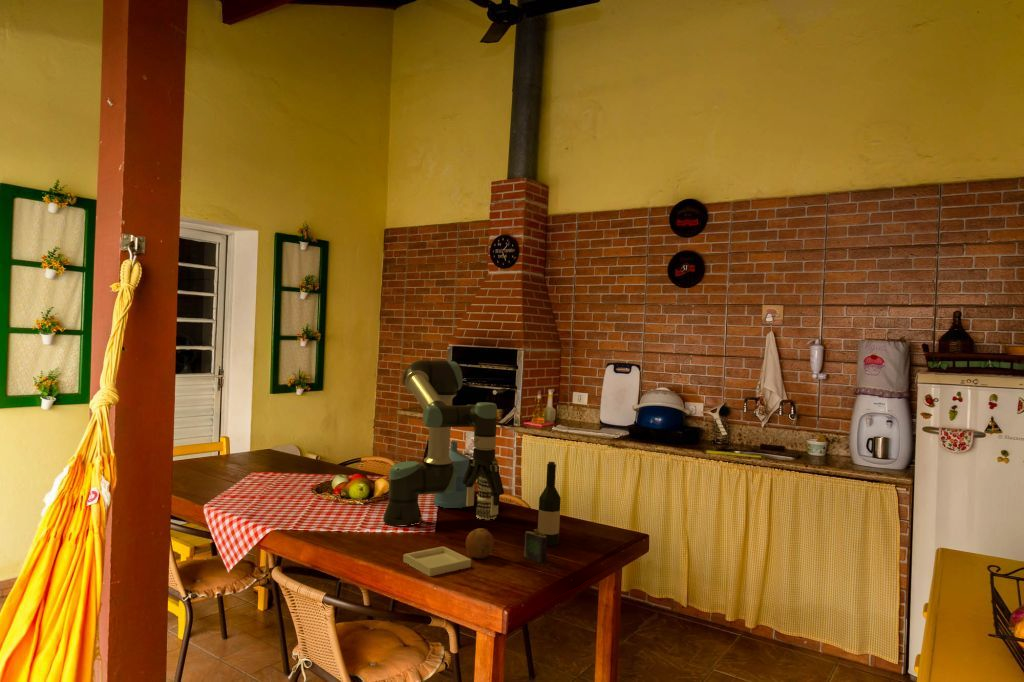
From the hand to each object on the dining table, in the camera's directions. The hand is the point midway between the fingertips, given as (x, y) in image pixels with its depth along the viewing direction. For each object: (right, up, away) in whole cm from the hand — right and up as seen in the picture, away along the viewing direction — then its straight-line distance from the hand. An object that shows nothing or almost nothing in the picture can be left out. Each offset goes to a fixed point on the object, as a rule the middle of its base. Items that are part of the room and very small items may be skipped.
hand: (481, 510), depth 235 cm
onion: (-1, -17, 0) cm, 17 cm away
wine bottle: (+24, -17, +21) cm, 36 cm away
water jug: (-17, -15, +69) cm, 73 cm away
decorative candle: (0, -16, +51) cm, 54 cm away
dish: (-14, -16, -8) cm, 23 cm away
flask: (+18, -17, +1) cm, 25 cm away
